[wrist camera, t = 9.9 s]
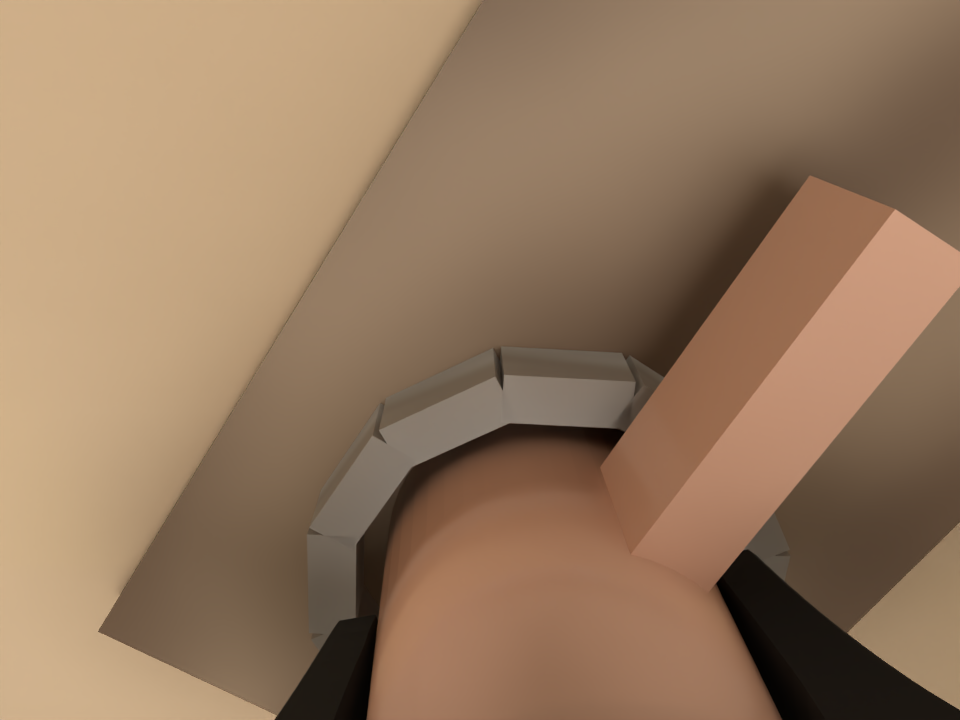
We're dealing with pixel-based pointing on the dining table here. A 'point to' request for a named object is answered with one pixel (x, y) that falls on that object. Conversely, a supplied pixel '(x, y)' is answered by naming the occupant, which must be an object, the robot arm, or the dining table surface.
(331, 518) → the board
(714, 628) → the cylinder with stick handle
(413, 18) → the dining table surface
